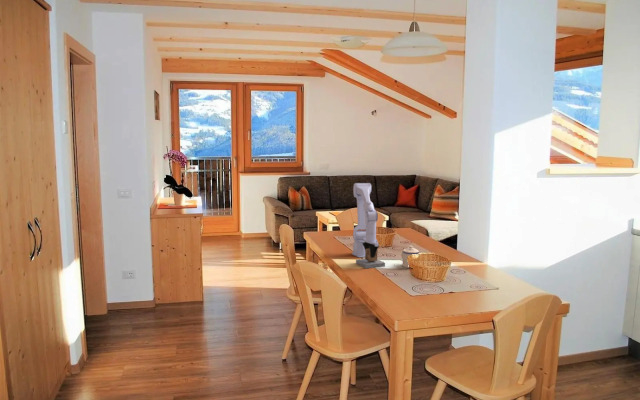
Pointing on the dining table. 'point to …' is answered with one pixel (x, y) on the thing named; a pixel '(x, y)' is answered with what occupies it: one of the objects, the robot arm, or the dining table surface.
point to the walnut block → (368, 256)
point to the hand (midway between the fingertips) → (370, 256)
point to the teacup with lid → (406, 253)
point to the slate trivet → (370, 263)
